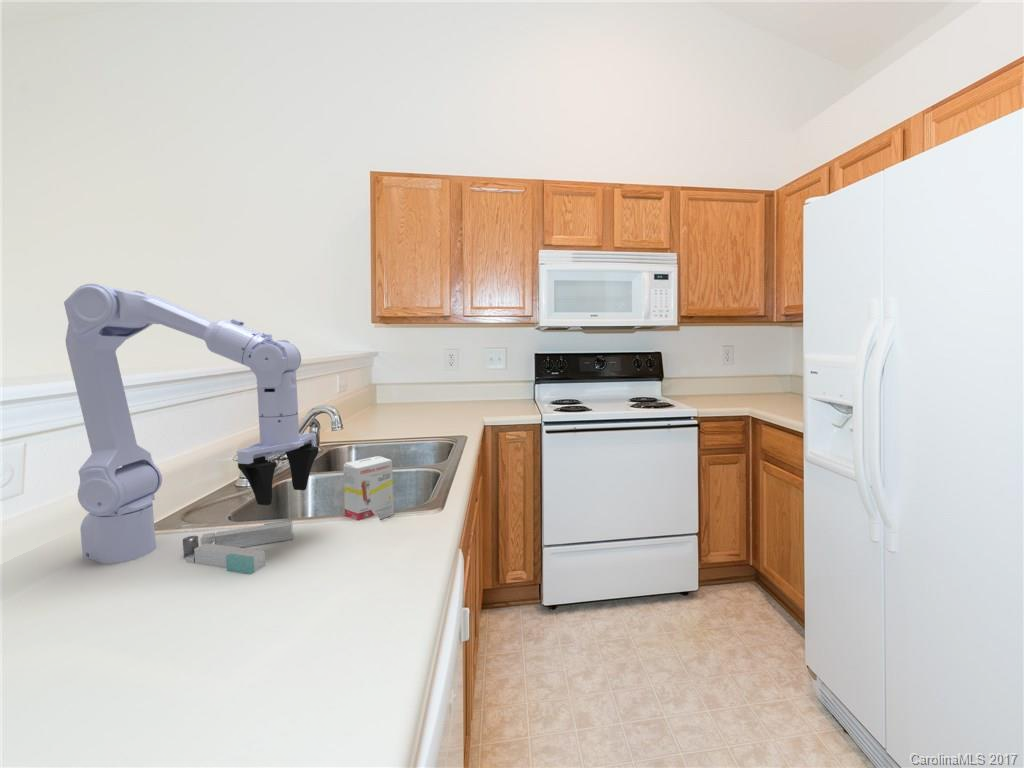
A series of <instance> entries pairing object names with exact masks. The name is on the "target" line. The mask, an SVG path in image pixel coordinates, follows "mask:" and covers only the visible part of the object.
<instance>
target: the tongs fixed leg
mask: <svg viewBox="0 0 1024 768" xmlns="http://www.w3.org/2000/svg"><path fill="white" fill-rule="evenodd" d="M182 548H183V551H182V552H183V558H184V559H185V563H189V564H199V565H204V566H210V567H217V568H224V569H226V572H233V573H237V574H238V573H240V574H245V575H252V574H254V573H255V572H257V571H259V570H261V569H262V568H264V567H266V555H265V554H266V553H265V550H260V549H254V548H246V547H240V548H239V547H231V546H224V545H216V544H214V543H212V544H208V543H206V544H203V545H201V544H200V545H199V536H198V535H190V536H187V537H184V538H182Z"/></svg>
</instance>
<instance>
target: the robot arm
mask: <svg viewBox="0 0 1024 768" xmlns="http://www.w3.org/2000/svg"><path fill="white" fill-rule="evenodd" d="M63 304H64V308H65V309H64V310H65V313H66V317H67V322H68V324H67V329H66V336H65V347H66V351H67V355H68V360H69V364H70V369H71V372H72V376H73V382H74V384H75V385H74V386H75V388H76V392H77V396H78V397H77V398H78V402H79V405H80V409H81V414H82V419H83V422H84V426H85V430H86V435H87V439H88V443H89V448H90V451H91V454H90V456H89V457H88V458H87V459H86V461H85V462H83V465H82V466H81V467H80V468H79V470H78V475H79V486H78V489H77V499H78V502H79V504H80V505H81V507H82V508H83V509H84V510H85V511H86V512H87V514H86V515H85V516H84V517H83V519H82V521H81V524H80V539H81V540H80V542H81V551H82V553H81V554H82V558H83V559H85V560H86V559H87V560H91V561H96V562H98V563H99V564H103V565H113V564H120V563H125V562H130V561H133V560H136V559H140V558H142V557H145V556H147V555H149V554H151V553H153V552H154V551H155V550H156V548H157V544H156V543H157V541H156V532H155V531H156V530H155V529H156V528H155V519H154V518H155V514H154V504H153V501H155V494H156V493H157V492H158V491H159V489H161V486H162V484H163V483H162V482H163V475H162V473H161V472H162V471H161V470H160V468H158V466H157V465H156V464H155V463H154V461H153V458H152V454H151V452H150V451H148V450H146V449H145V448H143V447H141V446H140V445H138V443H137V438H136V434H135V430H134V427H133V426H134V425H133V422H132V417H131V414H130V413H131V412H130V409H129V405H128V400H127V396H126V392H125V388H124V387H125V386H124V383H123V379H122V374H121V370H120V364H119V361H118V357H117V352H116V351H117V349H118V348H119V347H120V346H122V344H123V343H124V342H126V341H127V340H129V339H131V338H132V337H134V336H136V335H137V334H139V333H141V332H143V331H144V330H146V329H148V328H150V327H152V326H153V325H162V326H165V327H167V328H170V329H172V330H175V331H179V332H181V333H184V334H186V335H189V336H192V337H195V338H197V339H201V340H203V341H204V342H205V345H206V347H207V350H209V351H210V352H211V353H212V354H213V353H214V354H216V355H219V356H220V357H223V358H226V359H228V360H230V361H233V362H235V363H238V364H241V365H243V366H245V367H248V368H249V369H250V371H251V372H252V373H253V374H254V375H255V377H256V389H257V406H258V409H257V410H258V424H259V425H258V426H259V427H258V430H259V442H258V443H255V444H253V445H251V446H248V447H246V448H242V449H239V450H237V451H236V455H237V468H238V469H239V470H240V472H241V473H242V474H243V475H244V477H245V479H246V480H247V482H248V484H249V485H250V487H251V489H252V492H253V495H254V498H255V501H256V504H257V505H259V506H269V505H272V502H273V501H272V500H273V479H274V474H275V471H276V467H277V465H278V463H277V462H276V461H269V460H268V459H267V458H269V457H273V456H277V455H279V454H283V453H285V456H286V457H287V460H288V464H289V468H290V473H291V474H290V475H291V483H292V488H293V490H296V491H305V490H307V487H308V482H309V477H310V474H311V470H312V467H313V465H314V462H315V460H316V458H317V457H318V454H319V450H320V449H319V446H314V445H317V434H316V433H311V432H307V433H303V434H302V433H301V434H300V428H299V427H300V424H299V402H298V385H297V370H298V369H299V367H300V366H301V363H302V355H301V352H300V350H299V349H298V348H297V347H296V346H295V344H293V343H291V342H290V341H288V340H286V339H278V340H273V335H272V334H271V333H269V332H265V331H264V332H262V333H261V332H259V331H256V330H254V329H253V328H250V327H247V326H245V321H243V320H241V319H237V318H232V319H231V320H230V319H228V318H226V319H225V318H224V319H220V320H218V321H215V322H214V321H213V320H212V319H208V318H206V317H204V316H202V315H200V314H198V313H195V312H193V311H191V310H189V309H186V308H184V307H182V306H180V305H178V304H175V303H173V302H171V301H170V300H167V299H165V298H162V297H160V296H155V295H152V294H148V293H147V292H143V291H139V290H129V289H128V290H127V289H122V288H116V287H110V286H105V285H102V284H97V283H85V284H83V285H80V286H79V287H77V288H76V289H75V290H73V292H72V293H71V294H70V295H69V296H68V297H67V298H66V299H65V300H64V301H63Z"/></svg>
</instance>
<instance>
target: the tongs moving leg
mask: <svg viewBox="0 0 1024 768" xmlns="http://www.w3.org/2000/svg"><path fill="white" fill-rule="evenodd" d="M293 531H294V530H293V520H292V519H291V520H283V521H282V520H281V521H276V522H269V523H264V524H263V525H256V526H249V527H244V528H235V529H229V530H222V531H221V530H220V531H216V532H209V533H203V534H202V535H201V537H200V546H201V545H203V544H206V543H208V544H216V545H224V546H231V547H239V548H246V547H253V546H259V545H265V544H271V543H278V542H285V541H291V540H293V534H294V532H293Z"/></svg>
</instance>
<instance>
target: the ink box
mask: <svg viewBox="0 0 1024 768" xmlns="http://www.w3.org/2000/svg"><path fill="white" fill-rule="evenodd" d="M393 476H394V475H393V460H392V459H390V458H386V457H384V456H381V455H379V456H378V455H376V456H373V457H372V456H370V457H366V458H362V459H358V460H357V459H356V460H353V461H348V462H347V461H346V462H345V464H343V494H344V495H343V497H344V499H343V500H344V501H343V502H344V517H346V518H350V519H352V520H355V521H361V520H365V519H367V518H370V517H373V516H378V518H379V520H382V519H383V520H384V519H386V518H388V516H389V517H391V515H392V516H394V515H395V506H394V504H395V503H394V478H393ZM393 514H394V515H393ZM385 517H386V518H385Z"/></svg>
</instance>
